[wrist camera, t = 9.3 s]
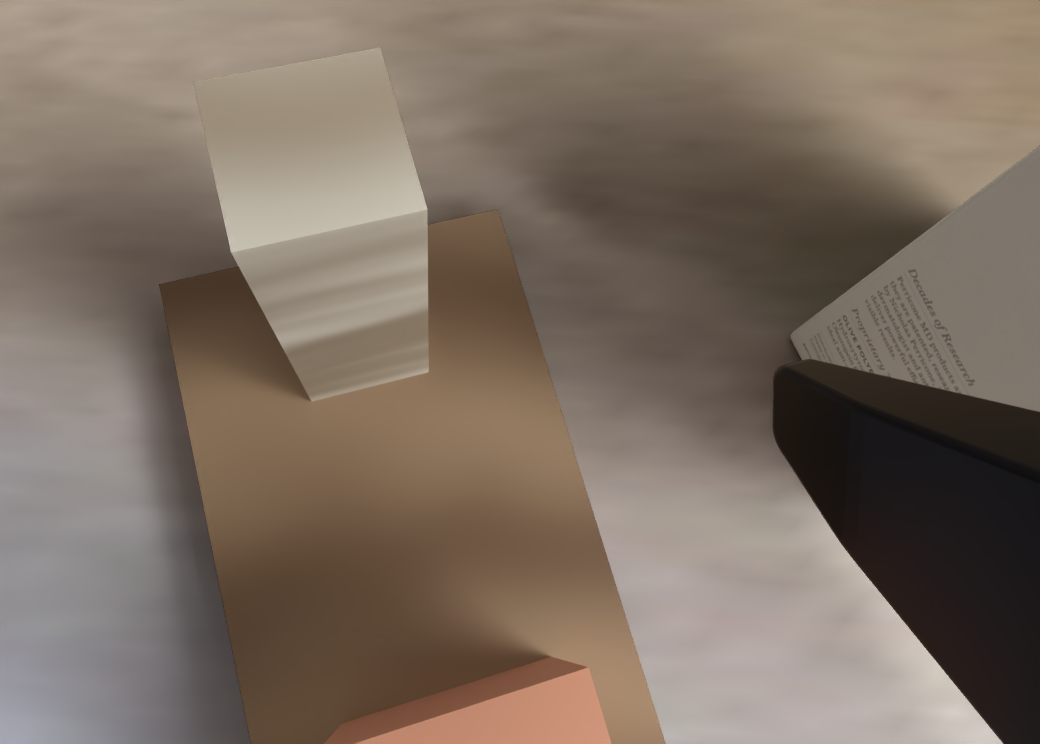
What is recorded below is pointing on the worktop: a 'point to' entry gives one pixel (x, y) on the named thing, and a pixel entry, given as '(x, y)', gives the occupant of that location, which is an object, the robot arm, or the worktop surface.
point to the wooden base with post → (377, 426)
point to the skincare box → (951, 301)
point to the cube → (494, 712)
